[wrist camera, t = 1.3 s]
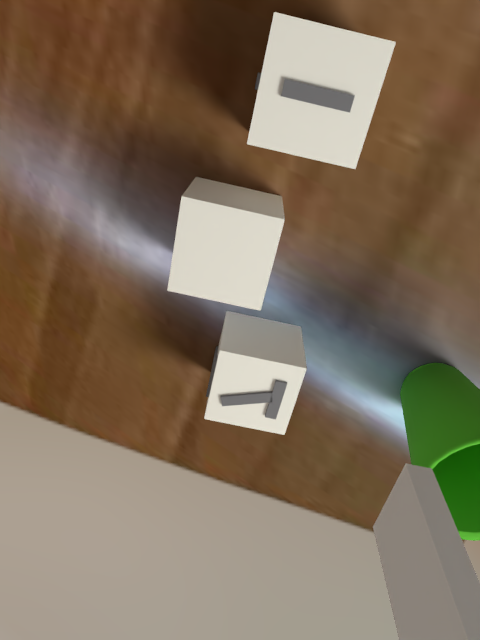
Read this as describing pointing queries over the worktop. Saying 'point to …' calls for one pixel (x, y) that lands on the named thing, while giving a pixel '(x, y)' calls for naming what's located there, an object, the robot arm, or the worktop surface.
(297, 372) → the letter t cube
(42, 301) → the worktop surface
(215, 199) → the plain block
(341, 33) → the digit block 1
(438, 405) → the cup
